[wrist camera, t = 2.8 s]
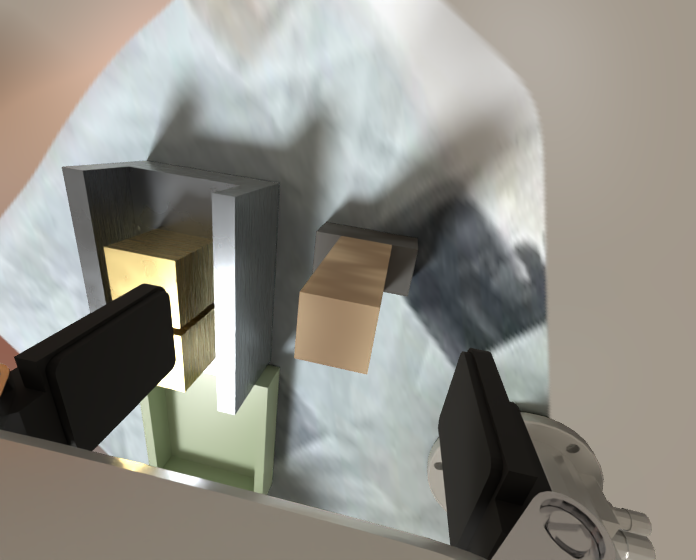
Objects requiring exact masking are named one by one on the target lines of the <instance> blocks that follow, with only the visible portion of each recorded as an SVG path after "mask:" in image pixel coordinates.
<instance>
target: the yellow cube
mask: <svg viewBox="0 0 696 560" xmlns="http://www.w3.org/2000/svg"><path fill="white" fill-rule="evenodd" d="M173 332H174V342H175V352H176V364H175V366H174V368H173V369H172V371H171V372H170V373H169V374H168V375H167V376H166V377H165V378H164V379H163V380H162V381H161V382H160V383H159V384H158V386H162V387H166V388H170V389H174V390H178V391H182V392H186V391H187V389H188V388H189V387H190V386H191V385H192V384H193V383H194V382H195V381H196V380H197V378H198V377H199V376H200V375H201V374H202V373H203V372H204V371H205V370H206V368H207V367H208V366H209V365H210V364H211V363H212V362H213V361H214V360H215V359H216V334H215V304H213V303H211V304H210V305H209V306H208V307H206V308H205V309H204V310H203V311H202V312H200V313H199V314H198V315H197V316H195V317H194V318H193V319H192V320H190V321H189V322H188V323H187V324H185V325H184V326H183V327H182V328H180V329H179V328H174V327H173Z"/></svg>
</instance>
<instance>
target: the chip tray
mask: <svg viewBox="0 0 696 560" xmlns="http://www.w3.org/2000/svg"><path fill="white" fill-rule="evenodd" d="M279 371H280V367H276V366H271V365H267V367H266V368H265V370H264V371H263V373H262V374H261V376H260V377H259V379H258V381H257V382H256V384H255V385H254V387H253V388H252V390H251V391H250V393H249V394H248V396H247V398H246V399H245V401H244V402H243V404H242V405H241V407H240V408H239V410H238V411H237V413H236V414H235V415H232V414H228V413H224V412H220V411H218V406H217V376H216V375H212V374H207V373H202V374H201V375H200V376H199V377H198V378H197V380H196V381H195V382H194V383H193V384H192V385H191V386H190V387H189V388H188V389H187V391H186V392H182V391H178V390H174V389H170V388H166V387H162V386H158V385H157V386H156V387H155V388H154V389H153V390H152V391H151V392H150V393H149V394H148V395H147V396H146V397H145V398H144V399H143V400H142V401H141V402H140V405H141V412H142V418H143V425H144V432H145V439H146V446H147V452H148V459H149V465H150V466H154V467H158V468H162V469H166V470H170V471H174V472H178V473H181V474H185V475H189V476H193V477H197V478H201V479H205V480H209V481H213V482H217V483H221V484H225V485H229V486H233V487H237V488H241V489H245V490H249V491H253V492H257V493H260V494H264V495H268V492H269V490H270V487H271V485H272V479H273V464H274V448H275V433H276V417H277V402H278V387H279Z"/></svg>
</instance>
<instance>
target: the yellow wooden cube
mask: <svg viewBox="0 0 696 560" xmlns="http://www.w3.org/2000/svg"><path fill="white" fill-rule="evenodd" d="M104 252H105V258H106V265H107V271H108V277H109V283H110V289H111V295H112V301H113V300H114V299H116V298H118V297H120V296H121V295H123V294H125V293H127V292H128V291H130V290H132V289H134V288H135V287H137V286H139V285H141V284H143V283H147V284H152V285H157V286H162V287H163V288H164V289H165V290H166V292H167V293H168V294H169V296H170V303H171V313H172V323H173V327H174V328H179V329H180V328H182V327H183V326H184V325H185V324H187V323H188V322H189V321H190V320H192V319H193V318H194V317H195V316H197V315H198V314H199V313H200V312H202V311H203V310H204V309H205V308H206V307H208V306H209V305H210V304H211V303H213V302H214V301H215V298H214V262H213V239H209V238H204V237H199V236H193V235H188V234H183V233H178V232H172V231H167V230H162V229H154V230H151V231H148V232H146V233H143V234H140V235H137V236H134V237H131V238H128V239H125V240H122V241H119V242H116V243H113V244H111V245H108V246H105V247H104Z"/></svg>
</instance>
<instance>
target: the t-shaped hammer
mask: <svg viewBox="0 0 696 560" xmlns="http://www.w3.org/2000/svg"><path fill="white" fill-rule="evenodd" d="M417 253H418V238H414V237H408V236H403V235H397V234H391V233H386V232H380V231H374V230H369V229H363V228H357V227H352V226H346V225H340V224H335V223H329V222H326V223H325V224H324V225H323V226H322V227H320V228H319V229H318V230H317V231H316V241H315V251H314V261H313V271H312V276H311V277H310V279H309V280H308V281H307V283H306V284H305V285H304V287H303V288H302V289H301V291H300V294H299V306H298V317H297V329H296V341H295V353H294V358H296V359H300V360H305V361H309V362H314V363H318V364H323V365H327V366H332V367H336V368H341V369H345V370H349V371H354V372H358V373H363V374H367V372H368V367H369V362H370V357H371V352H372V346H373V341H374V336H375V331H376V326H377V321H378V316H379V311H380V305H381V300H382V295H383V292H387V293H392V294H397V295H403V296H408V292H409V288H410V284H411V279H412V275H413V271H414V266H415V262H416V257H417Z"/></svg>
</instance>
